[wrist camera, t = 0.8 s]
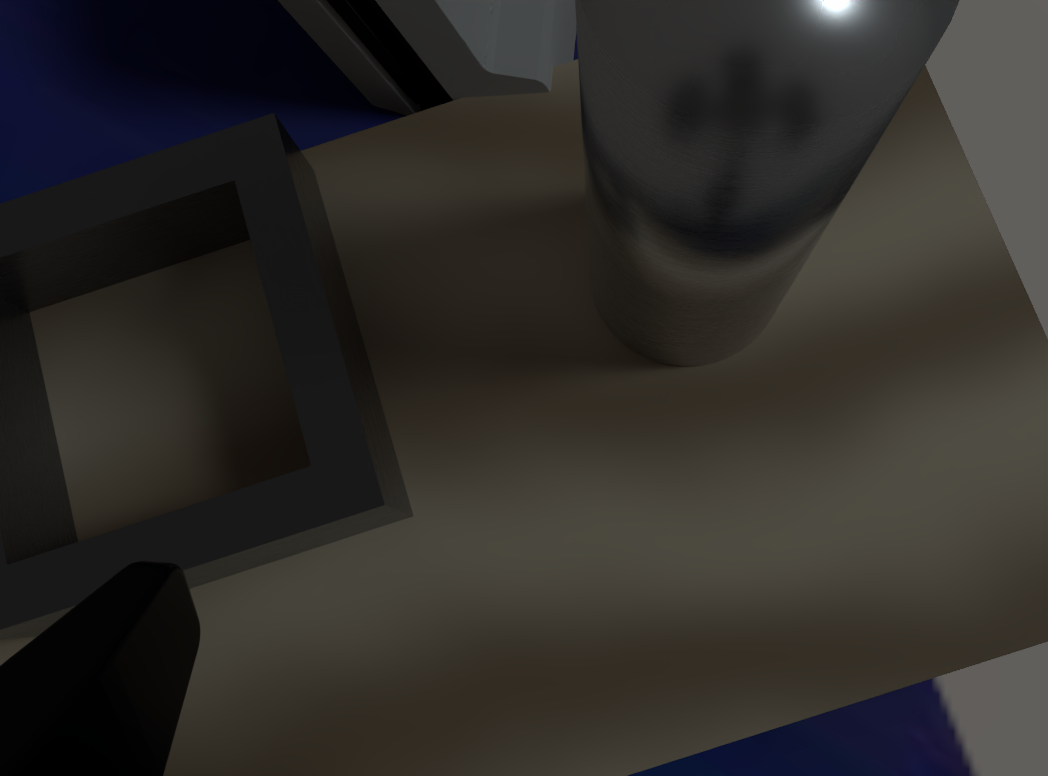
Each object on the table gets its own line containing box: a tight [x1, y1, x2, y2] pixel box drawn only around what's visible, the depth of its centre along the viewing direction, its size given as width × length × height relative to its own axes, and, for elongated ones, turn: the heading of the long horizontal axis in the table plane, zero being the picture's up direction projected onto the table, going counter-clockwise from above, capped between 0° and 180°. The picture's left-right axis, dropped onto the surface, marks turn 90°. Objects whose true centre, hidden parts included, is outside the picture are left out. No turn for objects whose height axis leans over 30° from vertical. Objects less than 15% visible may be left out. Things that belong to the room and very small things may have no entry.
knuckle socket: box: [0, 113, 414, 639], centre depth 22 cm, size 9×9×3 cm
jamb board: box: [0, 59, 1048, 776], centre depth 23 cm, size 16×26×1 cm, turn 108°
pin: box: [575, 0, 959, 367], centre depth 17 cm, size 4×4×12 cm
